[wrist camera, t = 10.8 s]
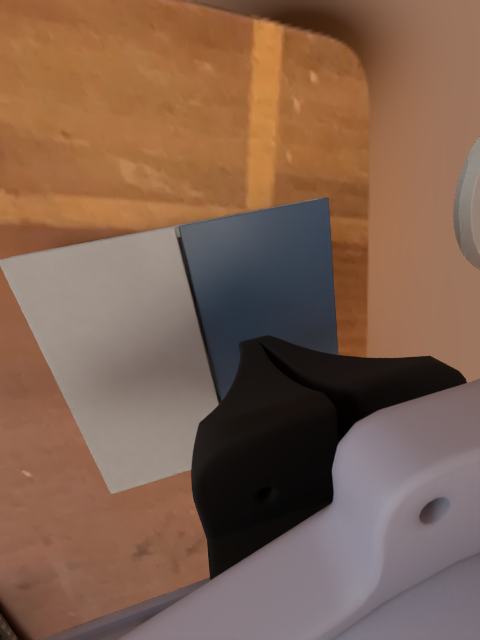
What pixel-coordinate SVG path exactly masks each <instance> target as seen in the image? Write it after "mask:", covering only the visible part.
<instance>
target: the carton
mask: <svg viewBox="0 0 480 640" xmlns="http://www.w3.org/2000/svg"><path fill="white" fill-rule="evenodd" d="M318 199H321V198H318ZM312 200H316V199H312ZM307 201H311V200H307ZM302 202H306V201H302ZM296 203H301V202H296ZM296 203H291V204H296ZM286 205H290V204H286ZM281 206H285V205H281ZM275 207H280V206H275ZM275 207H270V208H275ZM265 209H269V208H265ZM260 210H264V209H260ZM254 211H259V210H254ZM254 211H249V212H254ZM244 213H248V212H244ZM238 214H243V213H238ZM238 214H233V215H238ZM233 215H228V216H233ZM223 217H227V216H223ZM217 218H222V217H217ZM217 218H212V219H217ZM212 219H207V220H212ZM202 221H206V220H202ZM196 222H201V221H196ZM196 222H191V223H196ZM191 223H186V224H191ZM180 225H185V224H180ZM180 225H175V226H170V227H165V228H159V229H154V230H149V231H144V232H138V233H133V234H128V235H122V236H117V237H112V238H107V239H101V240H96V241H91V242H86V243H80V244H75V245H70V246H64V247H59V248H54V249H49V250H43V251H38V252H33V253H28V254H22V255H17V256H12V257H9V258H6V259H1V260H0V266H1V268H2V270H3V272H4V274H5V276H6V278H7V281H8V283H9V285H10V287H11V289H12V291H13V293H14V295H15V297H16V299H17V301H18V303H19V305H20V307H21V309H22V311H23V314H24V316H25V318H26V320H27V322H28V324H29V326H30V328H31V330H32V332H33V334H34V336H35V338H36V340H37V342H38V344H39V346H40V349H41V351H42V353H43V355H44V357H45V359H46V361H47V363H48V365H49V367H50V369H51V371H52V373H53V375H54V377H55V379H56V382H57V384H58V386H59V388H60V390H61V392H62V394H63V396H64V398H65V400H66V402H67V404H68V406H69V408H70V410H71V412H72V415H73V417H74V419H75V421H76V423H77V425H78V427H79V429H80V431H81V433H82V435H83V437H84V439H85V441H86V443H87V445H88V447H89V450H90V452H91V454H92V456H93V458H94V460H95V462H96V464H97V466H98V468H99V470H100V472H101V474H102V476H103V478H104V480H105V483H106V485H107V487H108V489H109V491H110V493H111V494H114V493H117V492H120V491H124V490H127V489H130V488H133V487H137V486H140V485H143V484H146V483H149V482H153V481H156V480H159V479H162V478H166V477H169V476H172V475H175V474H179V473H182V472H185V471H188V470H191V465H192V455H193V448H194V443H195V437H196V433H197V429H198V425H199V423H200V421H202V420H203V419H204V418H205V417H206V416H207V415H209V414H210V413H211V412H212V411H213V410H214V409H215V408H216V407H217V406H218V405H219V404H220V403H221V398H220V394H219V390H218V386H217V381H216V377H215V373H214V369H213V365H212V361H211V357H210V353H209V349H208V345H207V341H206V337H205V333H204V329H203V325H202V321H201V316H200V312H199V308H198V304H197V300H196V296H195V292H194V288H193V284H192V280H191V276H190V272H189V268H188V264H187V260H186V256H185V251H184V247H183V243H182V239H181V235H180V231H179V226H180Z"/></svg>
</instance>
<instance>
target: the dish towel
mask: <svg viewBox="0 0 480 640" xmlns="http://www.w3.org/2000/svg"><path fill="white" fill-rule="evenodd" d="M0 640H19V639H18V638H17V636H16V635H15V633H14V632H13V630H12V629H11V627H10V626H9V625H8V623H7V622H6V620H5V619H4V617H3V616H2V615H1V614H0Z"/></svg>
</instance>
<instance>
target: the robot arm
mask: <svg viewBox="0 0 480 640" xmlns="http://www.w3.org/2000/svg"><path fill="white" fill-rule="evenodd" d="M239 350H240V362H239V366H238V370H237V373H236V376H235V379H234V381H233V383H232V385H231V387H230V389H229V391H228V393H227V394H226V396H225V397H224V399H223V400H222V401H221V403H220V404H219V405H218V406H217V407H216V408H215V409H214V410H213V411H212V412H211V413H210V414H209V415H207V416H206V417H205V418H204V419H203V420H202V421H200V423H199V425H198V429H197V433H196V437H195V443H194V448H193V455H192V465H191V478H192V492H193V499H194V503H195V505H196V508H197V511H198V514H199V517H200V520H201V523H202V526H203V529H204V532H205V535H206V538H207V545H208V558H209V571H210V578H208V579H205V580H202V581H199V582H196V583H194V584H191V585H188V586H185V587H183V588H180V589H177V590H174V591H172V592H169V593H166V594H163V595H161V596H158V597H155V598H152V599H150V600H147V601H144V602H141V603H138V604H136V605H133V606H130V607H127V608H125V609H122V610H119V611H116V612H114V613H111V614H108V615H105V616H103V617H100V618H97V619H94V620H92V621H89V622H86V623H83V624H81V625H78V626H75V627H72V628H69V629H67V630H64V631H61V632H58V633H56V634H53V635H50V636H47V637H45V638H42V639H39V640H480V379H478V380H475V381H472V382H469V383H467V382H466V379H465V378H464V376H463V375H462V374H461V373H460V372H459V371H458V370H456V369H454V368H452V367H450V366H448V365H447V364H445V363H443V362H441V361H439V360H437V359H435V358H433V357H431V356H421V357H405V358H362V357H351V356H342V355H335V354H330V353H324V352H319V351H315V350H312V349H308V348H304V347H301V346H298V345H295V344H292V343H289V342H287V341H284V340H281V339H279V338H276V337H273V336H270V335H265V336H262V337H258V338H254V339H250V340H246V341H242V342H240V343H239Z"/></svg>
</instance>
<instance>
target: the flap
mask: <svg viewBox="0 0 480 640" xmlns="http://www.w3.org/2000/svg"><path fill="white" fill-rule="evenodd" d="M179 231H180V235H181V239H182V243H183V247H184V251H185V256H186V260H187V264H188V268H189V272H190V276H191V280H192V284H193V288H194V292H195V296H196V300H197V304H198V308H199V312H200V316H201V321H202V325H203V329H204V333H205V337H206V341H207V345H208V349H209V353H210V357H211V361H212V365H213V369H214V373H215V377H216V381H217V386H218V390H219V394H220V398H221V401H222V400H223V399H224V397H225V396H226V394H227V393H228V391H229V389H230V387H231V385H232V383H233V381H234V379H235V376H236V373H237V370H238V366H239V362H240V350H239V343H240V342H242V341H246V340H250V339H254V338H258V337H262V336H265V335H270V336H273V337H276V338H279V339H281V340H284V341H287V342H289V343H292V344H295V345H298V346H301V347H304V348H308V349H312V350H315V351H319V352H324V353H330V354H335V355H338V342H337V326H336V310H335V294H334V278H333V261H332V245H331V229H330V213H329V198H328V197H327V198H322V199H316V200H311V201H306V202H301V203H296V204H290V205H285V206H280V207H275V208H269V209H264V210H259V211H254V212H248V213H243V214H238V215H233V216H227V217H222V218H217V219H212V220H206V221H201V222H196V223H191V224H185V225H180V226H179Z"/></svg>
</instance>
